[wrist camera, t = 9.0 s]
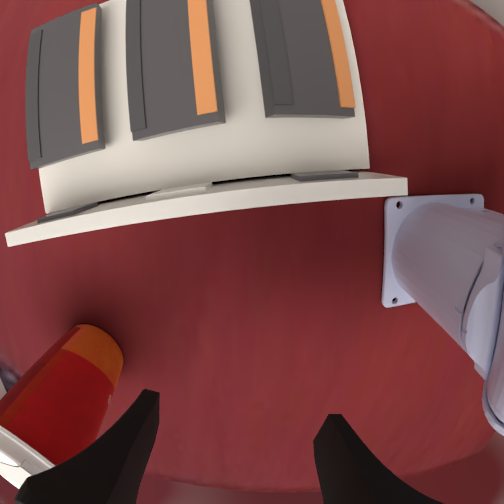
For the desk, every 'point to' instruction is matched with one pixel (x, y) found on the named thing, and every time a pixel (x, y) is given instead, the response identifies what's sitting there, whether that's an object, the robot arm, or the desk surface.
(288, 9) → the switch
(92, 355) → the paper cup
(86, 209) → the switch unit
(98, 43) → the switch
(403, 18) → the desk surface
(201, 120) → the switch
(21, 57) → the desk surface
